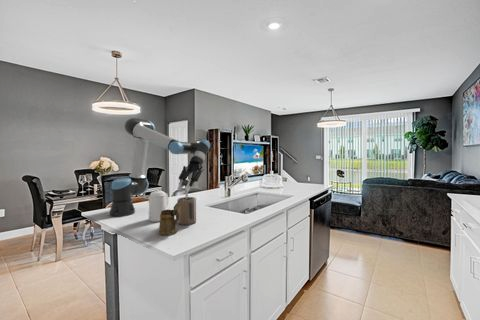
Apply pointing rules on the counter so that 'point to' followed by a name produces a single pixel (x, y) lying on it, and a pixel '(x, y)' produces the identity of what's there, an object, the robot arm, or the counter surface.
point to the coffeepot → (157, 204)
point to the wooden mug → (169, 220)
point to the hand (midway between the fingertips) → (182, 190)
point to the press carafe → (187, 211)
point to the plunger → (185, 187)
